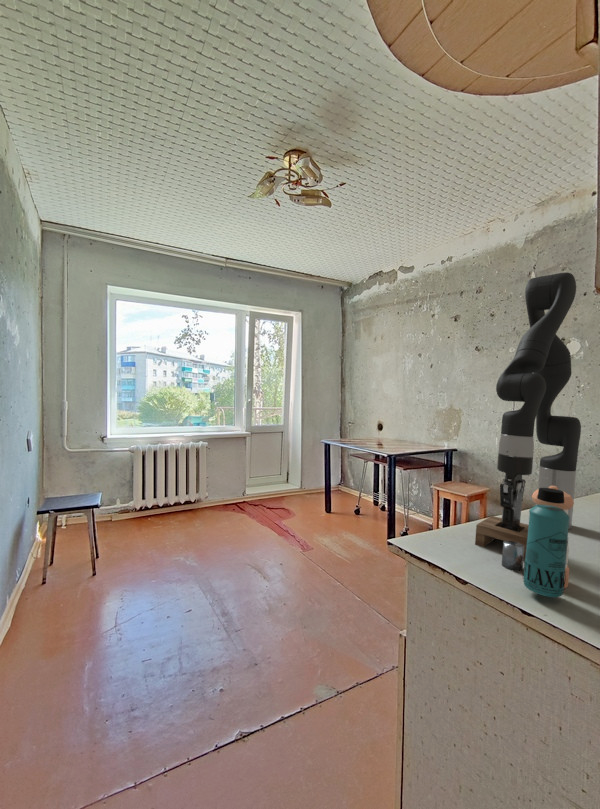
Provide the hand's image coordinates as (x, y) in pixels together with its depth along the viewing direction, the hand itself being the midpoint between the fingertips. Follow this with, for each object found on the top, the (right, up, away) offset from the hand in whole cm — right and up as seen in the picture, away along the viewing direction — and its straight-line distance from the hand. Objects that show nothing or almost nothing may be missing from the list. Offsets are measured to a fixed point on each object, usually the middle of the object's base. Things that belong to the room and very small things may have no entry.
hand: (510, 521), depth 94 cm
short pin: (-6, -6, -12) cm, 15 cm away
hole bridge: (0, -6, 0) cm, 6 cm away
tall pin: (0, -3, 0) cm, 3 cm away
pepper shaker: (-2, -7, -17) cm, 19 cm away
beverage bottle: (-8, -6, -25) cm, 27 cm away
